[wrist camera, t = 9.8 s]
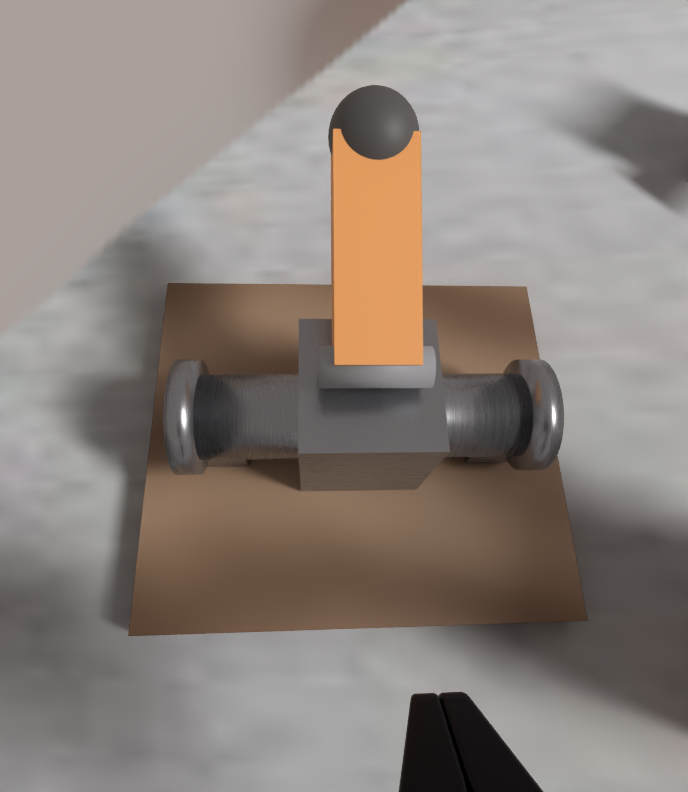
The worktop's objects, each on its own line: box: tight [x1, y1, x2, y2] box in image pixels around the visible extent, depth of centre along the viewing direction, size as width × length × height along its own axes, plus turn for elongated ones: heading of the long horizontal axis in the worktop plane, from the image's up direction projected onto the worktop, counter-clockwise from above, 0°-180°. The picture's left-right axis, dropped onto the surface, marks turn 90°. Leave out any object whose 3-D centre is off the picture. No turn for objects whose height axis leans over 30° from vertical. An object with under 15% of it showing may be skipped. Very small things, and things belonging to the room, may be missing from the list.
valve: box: [163, 319, 564, 492], centre depth 18 cm, size 4×13×5 cm, turn 92°
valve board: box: [128, 283, 588, 636], centre depth 21 cm, size 14×16×1 cm
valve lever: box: [319, 85, 436, 388], centre depth 15 cm, size 3×3×8 cm
